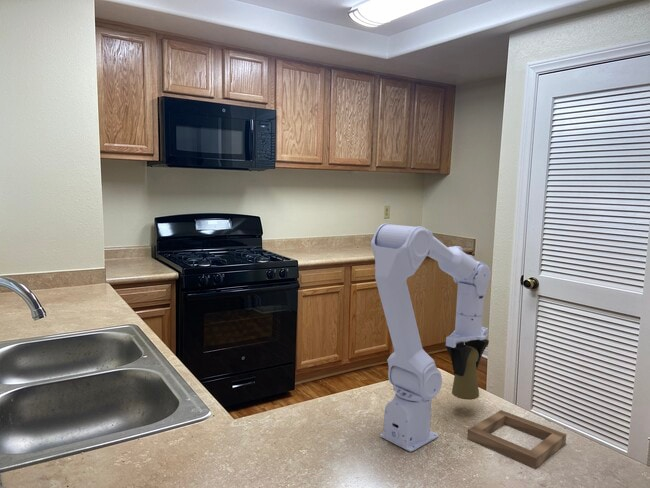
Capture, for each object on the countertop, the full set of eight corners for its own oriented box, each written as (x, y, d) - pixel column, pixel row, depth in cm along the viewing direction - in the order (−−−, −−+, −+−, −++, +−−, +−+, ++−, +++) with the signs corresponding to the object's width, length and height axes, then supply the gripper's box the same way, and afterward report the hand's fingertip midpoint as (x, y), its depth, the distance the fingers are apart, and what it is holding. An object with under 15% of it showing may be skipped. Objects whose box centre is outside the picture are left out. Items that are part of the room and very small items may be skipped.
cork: (480, 400, 106) (482, 353, 104) (452, 398, 107) (453, 351, 105) (477, 389, 112) (479, 343, 110) (451, 387, 113) (452, 342, 111)
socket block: (535, 468, 87) (536, 458, 87) (467, 438, 98) (467, 429, 97) (565, 443, 97) (566, 434, 97) (500, 418, 107) (501, 410, 107)
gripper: (468, 322, 99) (464, 385, 101) (501, 312, 109) (497, 369, 110) (439, 315, 104) (435, 375, 106) (473, 306, 114) (470, 361, 116)
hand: (465, 372), depth 108 cm, fingers closed on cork, 5 cm apart
